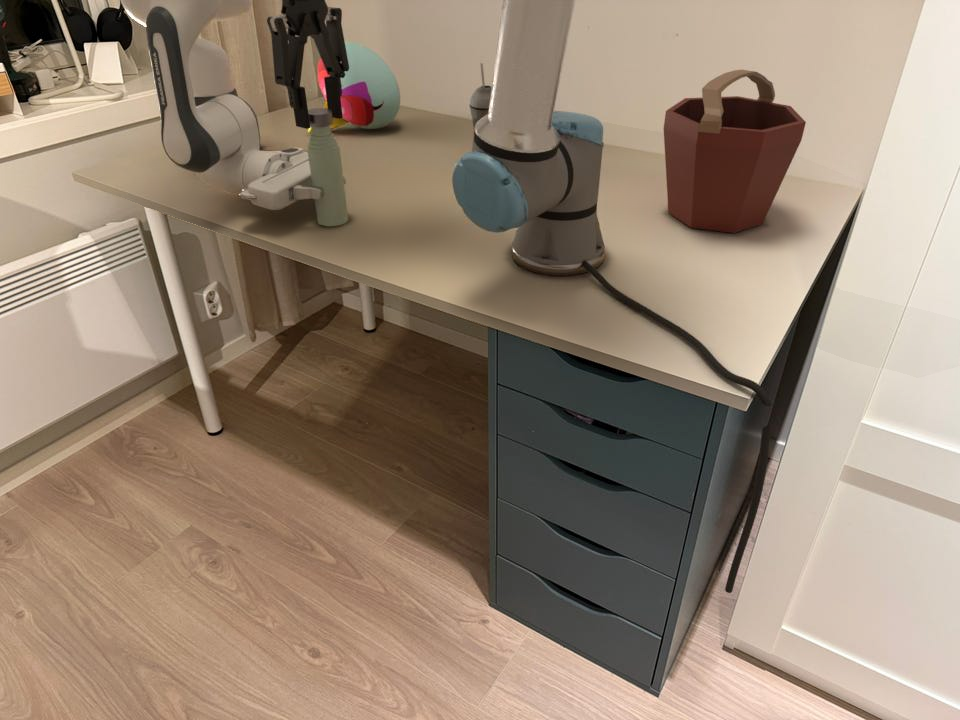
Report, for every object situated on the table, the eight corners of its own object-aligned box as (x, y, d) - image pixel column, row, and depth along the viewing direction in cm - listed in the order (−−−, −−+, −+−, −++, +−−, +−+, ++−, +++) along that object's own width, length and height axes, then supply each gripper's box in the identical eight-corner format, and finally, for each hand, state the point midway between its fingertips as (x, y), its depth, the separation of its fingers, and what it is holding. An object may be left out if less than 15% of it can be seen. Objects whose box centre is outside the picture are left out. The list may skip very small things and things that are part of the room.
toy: (277, 110, 181) (275, 51, 163) (352, 72, 191) (358, 13, 173) (336, 175, 178) (341, 122, 160) (410, 134, 188) (421, 79, 170)
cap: (323, 118, 124) (321, 106, 122) (338, 123, 121) (336, 110, 120) (301, 123, 121) (300, 111, 120) (317, 128, 118) (315, 116, 117)
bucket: (710, 250, 119) (740, 96, 105) (622, 208, 134) (638, 69, 120) (804, 218, 129) (843, 75, 115) (713, 183, 145) (736, 53, 131)
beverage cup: (489, 165, 155) (489, 69, 144) (463, 159, 159) (461, 64, 148) (508, 156, 160) (510, 63, 149) (483, 150, 164) (482, 59, 152)
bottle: (347, 213, 134) (335, 110, 123) (348, 224, 129) (336, 119, 118) (317, 215, 133) (302, 112, 122) (317, 227, 128) (302, 121, 118)
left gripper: (229, 177, 122) (294, 189, 117) (301, 144, 138) (361, 153, 133) (237, 212, 126) (300, 224, 121) (306, 176, 141) (364, 185, 136)
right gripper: (263, -24, 100) (289, 139, 112) (362, -35, 113) (375, 112, 125) (230, -27, 103) (259, 132, 116) (329, -37, 116) (345, 106, 129)
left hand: (332, 187), depth 127 cm, fingers closed on bottle, 5 cm apart
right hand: (319, 121), depth 121 cm, fingers open, 7 cm apart
